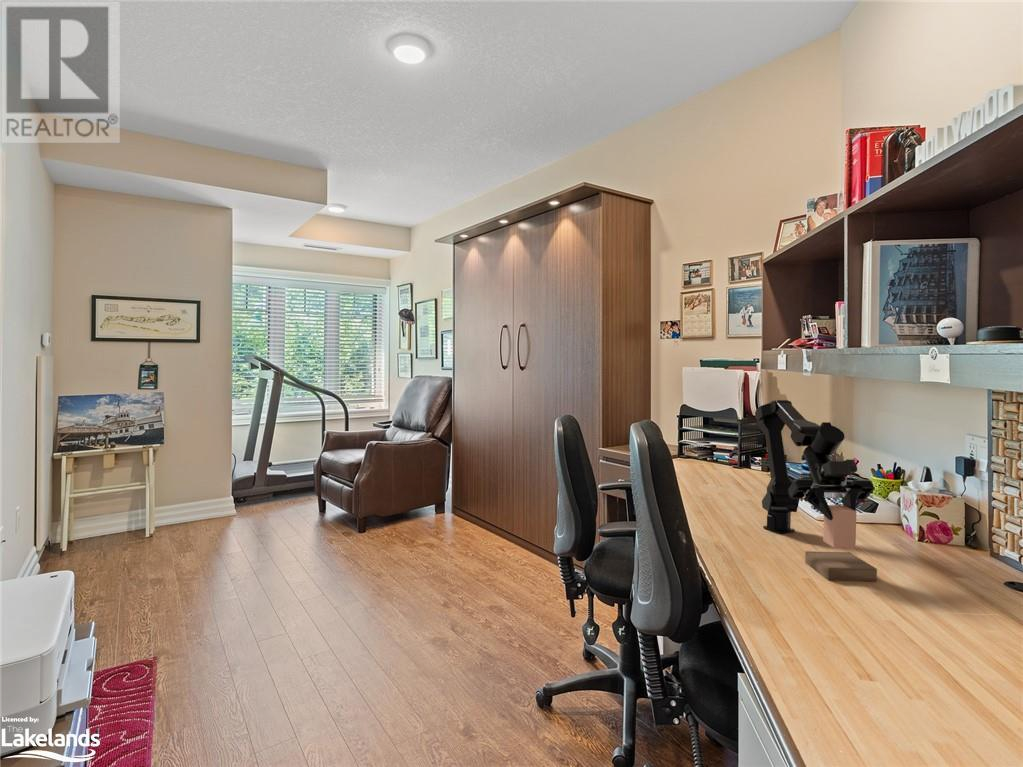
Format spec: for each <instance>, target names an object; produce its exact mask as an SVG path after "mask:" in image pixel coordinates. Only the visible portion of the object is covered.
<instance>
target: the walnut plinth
mask: <svg viewBox="0 0 1023 767" xmlns="http://www.w3.org/2000/svg"><path fill="white" fill-rule="evenodd" d="M804 556H805V557H804V559H805V561H804V563H805V564H806V565H808V566H809V567H810V568H812V569H813V570H814V571H815V572H817V573H818V574H820V575H821V577H823V578H825V579H826V580H827V581H841V582H842V581H843V582H847V581H848V582H877V581H878V578H877V577H878V568H876V567H875V566H873V565H871V564H869V563H868V562H867V561H865V560H863V559H862V558H860V557H858V556H857V555H855V554H853V553H852V552H850V551H849V552H847V551H845V552H843V551H842V552H841V551H815V550H814V551H811V550H807V551H805V555H804Z"/></svg>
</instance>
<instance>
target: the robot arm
mask: <svg viewBox="0 0 1023 767" xmlns="http://www.w3.org/2000/svg"><path fill="white" fill-rule="evenodd" d="M754 417H755V420H756V421H757V422H756V424H757V426H758V428H759V429H760V430H761V432H762V433H763V434H764V437H765V443H766V451H767V452H766V453H767V458H768V465H769V472H770V473H769V474H770V481H769V482H768V484H767V487H766V493H765V494H764V497H763V498H762V499H761V506H762V509H764V510H765V511H767V515H766V525H763V527H762V528H763V529H766V530H769V531H771V532H775V533H776V534H782V535H783V534H787V533H794V532H795V531H796V530H795V528H791V519H792V518H791V516H792V514H791V513H797V511H798V508H799V503H800V500H802V499H803V501H804V502H806V503H809V504H810V505H811V506H813V507H814V508H815V509H816V510H817V511H819V512H820V513H821V514H822V515H823V516H824V515H825V516H826V517H827V518H828V519H829V520H832V519H833V517H832V513H831V511H830V508H829V506H830V505H829V504H828V501H827V499H826V496H825V494H826V493H827V494H841V495H842V499H841V500H840V502H841V504H842V506H846V507H848V508H850V509H852V510H854V511H857V501H864V500H866V499H868V498H869V496H870V495H871V494H872V493H873V492H874V491H875V489H876V488H875V486H874V483H873V482H872V480H869V479H853V480H852V481H851V482H850V484H843V483H844V482H845V481H846V477H847V476H851V475H852V474H854V473H857V472H858V466H857V463H856V461H855V460H854V459H847V458H846V460H841V461H840V460H833V461H832V459H831V456H832V455H834V454H835V452H836V451H837V450H838V448H839V447H840V446H841V444H842V442H843V441H844V439H845V434H844V432H843V431H842V430H841V429H839V428H838V427H837V426H834V425H832V423H831V422H830V421H829V422H824V421H822V422H821V424H820V425H819V424H818V423H816V422H813V421H809V420H807V419H806V418H805V417H804V416H803V415H802V414H801V413H800V412H799V411H798V410H797V408H796V407H794V405H793V403H792V401H790V400H788V399H774V400H772V401H770V402H768V403H766V404H765V403H764V404H763V405H760V406H759V407H758V408H756V410H755V413H754ZM785 426H787V428H788V429H789V430H790V432H791V433H790V438H791V440H792V442H793V444H794V445H795V446H796V447H805V448H804V449H803V452H802V455H801V461H806V462H805V463H806V465H807V467H808V470H809V473H808V477H809V478H794V480H793V481H792V480H791V479H790V478H789V474H788V469H787V468H788V467H787V460H786V454H785V448H784V447H785V446H784V442H783V441H784V440H783V435H782V432H783V430H784V427H785ZM842 482H843V483H842ZM828 505H829V506H828Z"/></svg>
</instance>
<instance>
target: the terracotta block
mask: <svg viewBox="0 0 1023 767" xmlns="http://www.w3.org/2000/svg"><path fill="white" fill-rule="evenodd" d="M828 506H829V508H830V511H831V513H832V517H833V519H832V520H829V519H828V518H827V517H826V516H825V515H823V525H822V526H823V528H822V529H823V534H822V535H823V536H822V541H823V543H826V544H827V545H829V546H830V547H831V548H834V549H856V545H857V544H856V541H857V540H856V539H857V538H856V537H857V534H856V533H857V510H856V511H854V510H852V509H850V508H848V507H846V506H843V505H829V504H828Z"/></svg>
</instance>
